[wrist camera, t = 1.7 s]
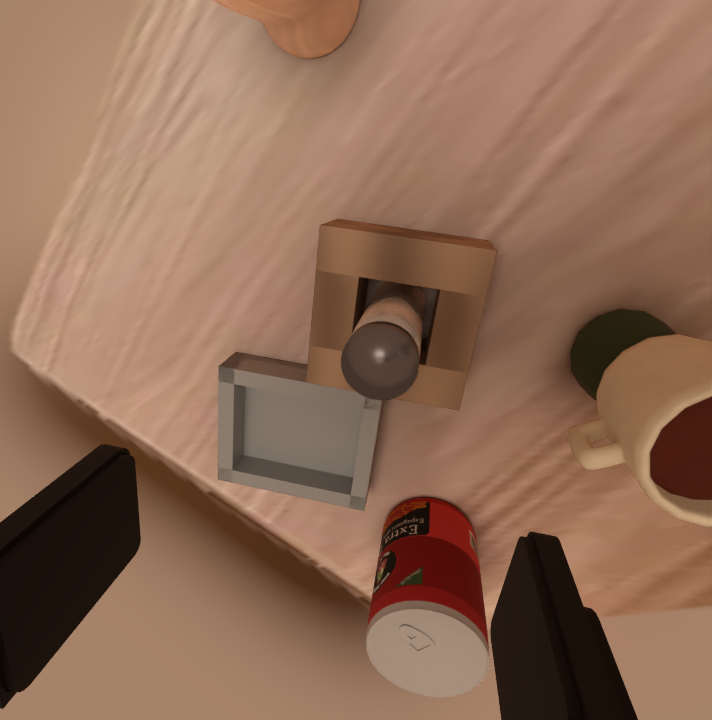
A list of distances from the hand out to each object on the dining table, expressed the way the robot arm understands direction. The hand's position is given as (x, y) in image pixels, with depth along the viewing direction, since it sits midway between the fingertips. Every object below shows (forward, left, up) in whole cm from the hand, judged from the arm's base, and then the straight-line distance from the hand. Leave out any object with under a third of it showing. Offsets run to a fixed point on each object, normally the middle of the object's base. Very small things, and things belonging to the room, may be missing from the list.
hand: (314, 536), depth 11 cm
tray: (+6, +11, -23) cm, 26 cm away
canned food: (-6, +19, -23) cm, 31 cm away
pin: (0, 0, -23) cm, 23 cm away
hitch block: (0, 0, -23) cm, 23 cm away
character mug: (-15, +1, -23) cm, 28 cm away
